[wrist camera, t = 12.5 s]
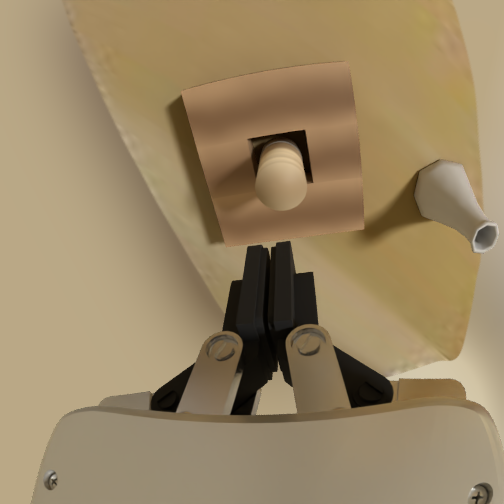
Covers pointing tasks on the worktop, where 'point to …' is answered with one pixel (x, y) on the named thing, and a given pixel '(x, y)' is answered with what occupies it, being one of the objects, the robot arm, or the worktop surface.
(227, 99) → the board
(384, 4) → the worktop surface
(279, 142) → the peg
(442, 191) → the flask
